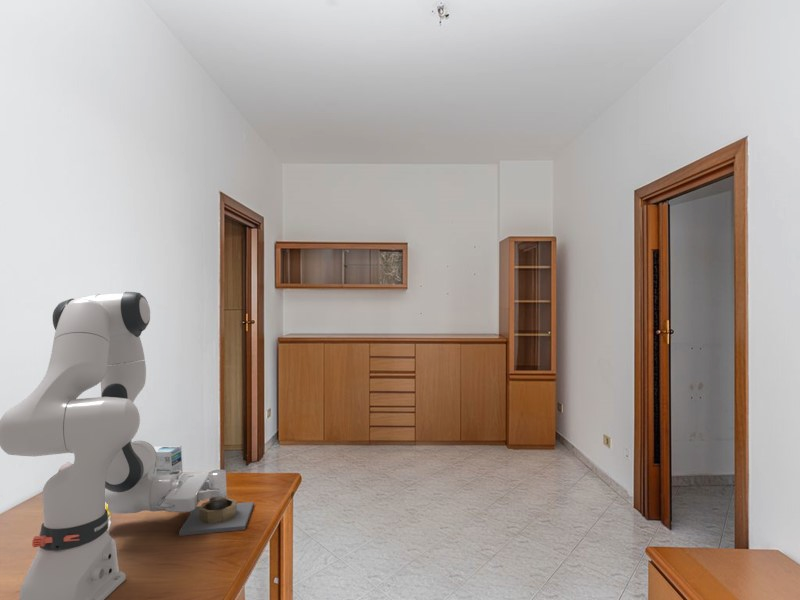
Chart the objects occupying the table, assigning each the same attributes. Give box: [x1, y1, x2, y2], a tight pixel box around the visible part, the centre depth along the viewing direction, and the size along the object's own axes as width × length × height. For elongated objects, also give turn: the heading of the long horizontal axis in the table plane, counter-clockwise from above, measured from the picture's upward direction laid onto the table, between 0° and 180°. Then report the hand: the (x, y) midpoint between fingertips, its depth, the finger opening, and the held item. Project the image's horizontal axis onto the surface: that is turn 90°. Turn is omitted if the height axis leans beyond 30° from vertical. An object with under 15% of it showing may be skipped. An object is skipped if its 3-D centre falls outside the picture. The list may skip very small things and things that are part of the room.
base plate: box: [178, 501, 255, 537], centre depth 142 cm, size 16×16×1 cm
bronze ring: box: [199, 497, 238, 524], centre depth 142 cm, size 9×9×3 cm
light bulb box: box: [152, 445, 184, 476], centre depth 175 cm, size 11×7×11 cm, turn 84°
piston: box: [208, 469, 228, 510], centre depth 142 cm, size 4×4×10 cm
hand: (221, 488), depth 142 cm, fingers closed on piston, 4 cm apart
